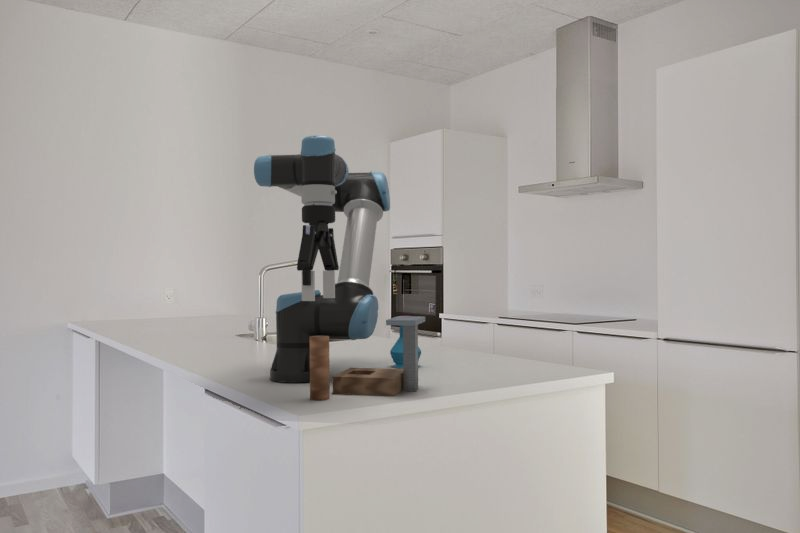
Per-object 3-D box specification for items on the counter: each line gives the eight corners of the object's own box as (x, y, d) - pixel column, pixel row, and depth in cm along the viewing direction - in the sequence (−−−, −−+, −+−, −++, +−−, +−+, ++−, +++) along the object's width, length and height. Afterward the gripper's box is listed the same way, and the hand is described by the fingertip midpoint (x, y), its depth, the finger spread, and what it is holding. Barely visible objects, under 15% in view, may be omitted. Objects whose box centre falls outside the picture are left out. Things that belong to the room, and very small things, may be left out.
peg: (307, 400, 149) (306, 337, 149) (314, 396, 154) (313, 335, 154) (325, 400, 148) (325, 337, 148) (332, 397, 153) (331, 335, 153)
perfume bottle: (402, 363, 205) (401, 314, 205) (427, 366, 199) (426, 315, 199) (384, 367, 197) (383, 316, 197) (409, 369, 192) (409, 317, 192)
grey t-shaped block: (386, 393, 156) (385, 320, 156) (398, 384, 168) (397, 316, 168) (416, 395, 154) (415, 320, 154) (425, 385, 166) (425, 316, 166)
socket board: (332, 393, 157) (332, 376, 157) (350, 383, 170) (350, 367, 170) (394, 395, 153) (394, 378, 153) (408, 385, 167) (408, 369, 167)
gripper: (314, 199, 138) (315, 302, 138) (350, 209, 162) (351, 297, 162) (280, 200, 140) (281, 302, 140) (321, 210, 164) (322, 297, 164)
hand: (319, 299), depth 151 cm, fingers open, 13 cm apart
